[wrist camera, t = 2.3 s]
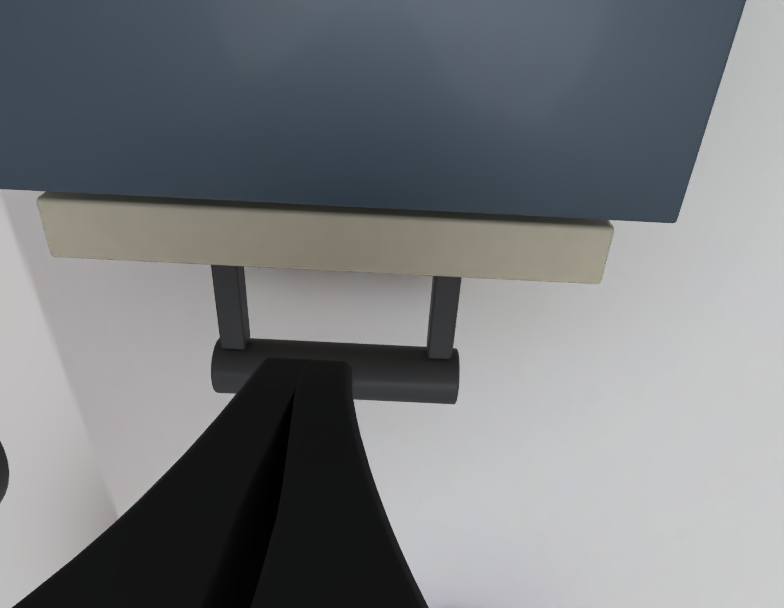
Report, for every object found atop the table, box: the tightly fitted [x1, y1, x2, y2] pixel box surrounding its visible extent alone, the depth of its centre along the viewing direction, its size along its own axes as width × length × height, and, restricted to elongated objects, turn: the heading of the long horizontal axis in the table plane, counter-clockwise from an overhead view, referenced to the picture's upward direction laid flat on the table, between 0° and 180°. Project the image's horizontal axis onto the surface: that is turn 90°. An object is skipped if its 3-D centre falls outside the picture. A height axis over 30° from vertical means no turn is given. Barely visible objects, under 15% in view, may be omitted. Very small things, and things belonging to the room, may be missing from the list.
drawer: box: [37, 191, 614, 404], centre depth 12 cm, size 17×10×6 cm, turn 177°
